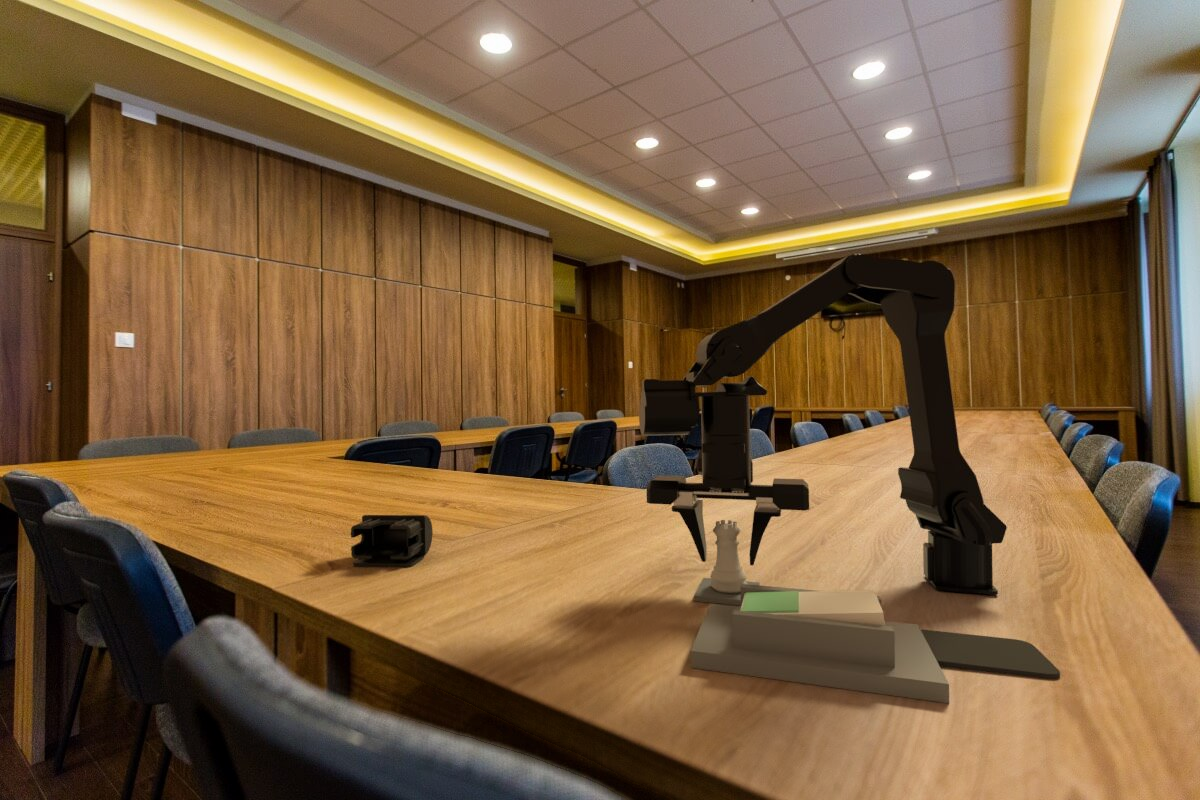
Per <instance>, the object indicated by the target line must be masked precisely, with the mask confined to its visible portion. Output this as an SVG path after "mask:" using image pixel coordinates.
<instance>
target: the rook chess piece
mask: <svg viewBox="0 0 1200 800" xmlns="http://www.w3.org/2000/svg"><path fill="white" fill-rule="evenodd" d="M712 532H713V533H714V534H715V536H716V541H715V542H714V544H715V545H716V549H717V550H716V561H715V565H713V570H712V571H710V572H711V573H710V577H709V578H711V579H712V581H711V582H710V585H711V586H712V588H713V589H714V590H715V591H717V592H720V593H725V594H735V593H740V592H741V590H740V587H741V584H747V583H746V582H745V581H746V580H747V573H746V572H745V571H744V570H743V566H741V563H740V559H739V553H738V545H739V544H740V542H739V541H738V539H737V537H738V536H739V534H740V532H741V529H740V528H739V526H738V522H737V521H733V520H732V519H728V520H727V523H726V520H725V519H721V520H717V521H716V522H715V527H713V529H712Z"/></svg>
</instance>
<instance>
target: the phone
mask: <svg viewBox="0 0 1200 800" xmlns="http://www.w3.org/2000/svg"><path fill="white" fill-rule="evenodd" d="M920 630H921V632H922V634H923V636H924V637H925V639H926V641H927V643H928V645H929V647H930V649H931V651H932V653H933V655H934V656H935V658H936V660H937V662H938V664H939V666H940V668H945V669H954V670H955V669H956V670H963V671H974V672H982V673H990V674H1000V675H1001V674H1002V675H1007V676H1008V675H1009V676H1016V677H1017V676H1018V677H1026V678H1027V677H1028V678H1035V679H1044V680H1045V679H1046V680H1058V679H1060V678H1061V672H1060V670H1059V668H1057V667H1056V666H1055V664H1053V663H1052V661H1051V660H1049V659H1048V658H1047V656H1045V655H1044V654H1043V653H1042V652H1041V650H1039V649H1038V648H1037V646H1035V645H1033V644H1032V643H1030V642H1028V641H1026V640H1025V641H1024V640H1021V639H1017V638H1008V637H1007V638H1006V637H998V636H997V637H995V636H989V635H979V634H968V633H967V634H966V633H962V632H961V633H960V632H951V631H941V630H930V629H922V628H920Z"/></svg>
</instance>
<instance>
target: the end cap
mask: <svg viewBox="0 0 1200 800" xmlns="http://www.w3.org/2000/svg"><path fill="white" fill-rule="evenodd" d="M358 536H360V537H361V538H360V541H359V542H358V543H356V544H354V545H351V547H350V551H351V558H353V559H357V560H355V561H353V562H352V563H353V564H352V566H353V567H354V568H358V567H359V568H401V569H402V568H407V569H408V568H412V567H414V566H415V565H417V564H419V563H420V562H422V561H423V560H424V558H425V557H426V555H427V554H428V553H429V550H430V548H431V547H432V546H431V545H432V541H433V524H432V520H431V519H430V517H429V516H428V515H425V514H423V515H422V514H411V515H410V514H364V515H362V516H361V522H359V523H357V524H355V525H353V526H351V528H350V538H351V539H352V538H353V539H354V538H357V537H358Z"/></svg>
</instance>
